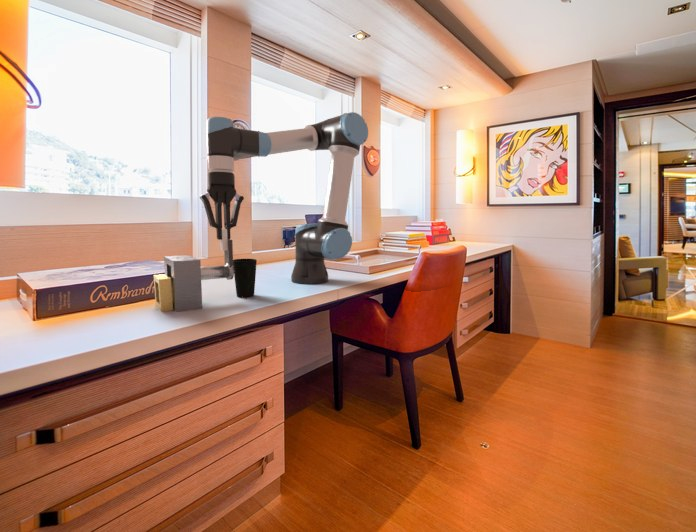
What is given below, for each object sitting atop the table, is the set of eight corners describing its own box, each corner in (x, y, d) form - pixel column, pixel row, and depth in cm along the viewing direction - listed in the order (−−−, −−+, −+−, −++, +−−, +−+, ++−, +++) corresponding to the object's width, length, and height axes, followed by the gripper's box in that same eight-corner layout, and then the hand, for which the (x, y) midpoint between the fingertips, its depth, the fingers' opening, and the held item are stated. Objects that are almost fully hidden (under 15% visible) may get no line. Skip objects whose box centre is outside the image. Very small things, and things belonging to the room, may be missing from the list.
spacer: (166, 303, 112) (164, 274, 111) (173, 309, 105) (170, 278, 104) (155, 305, 110) (153, 275, 109) (161, 311, 103) (158, 279, 102)
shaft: (228, 278, 120) (227, 238, 119) (233, 280, 116) (232, 239, 114) (174, 282, 111) (171, 240, 109) (177, 285, 107) (175, 241, 105)
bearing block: (190, 299, 118) (188, 255, 117) (202, 308, 107) (200, 259, 105) (166, 301, 114) (163, 256, 112) (176, 311, 103) (173, 261, 101)
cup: (250, 299, 120) (250, 261, 118) (229, 297, 121) (227, 260, 120) (261, 294, 127) (260, 259, 126) (240, 292, 129) (239, 258, 127)
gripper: (238, 174, 119) (240, 248, 123) (195, 171, 112) (199, 250, 115) (246, 172, 113) (248, 250, 117) (202, 169, 106) (205, 252, 109)
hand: (224, 250), depth 116 cm, fingers closed
